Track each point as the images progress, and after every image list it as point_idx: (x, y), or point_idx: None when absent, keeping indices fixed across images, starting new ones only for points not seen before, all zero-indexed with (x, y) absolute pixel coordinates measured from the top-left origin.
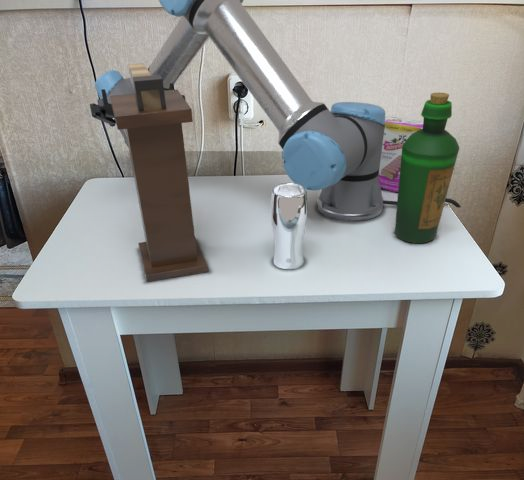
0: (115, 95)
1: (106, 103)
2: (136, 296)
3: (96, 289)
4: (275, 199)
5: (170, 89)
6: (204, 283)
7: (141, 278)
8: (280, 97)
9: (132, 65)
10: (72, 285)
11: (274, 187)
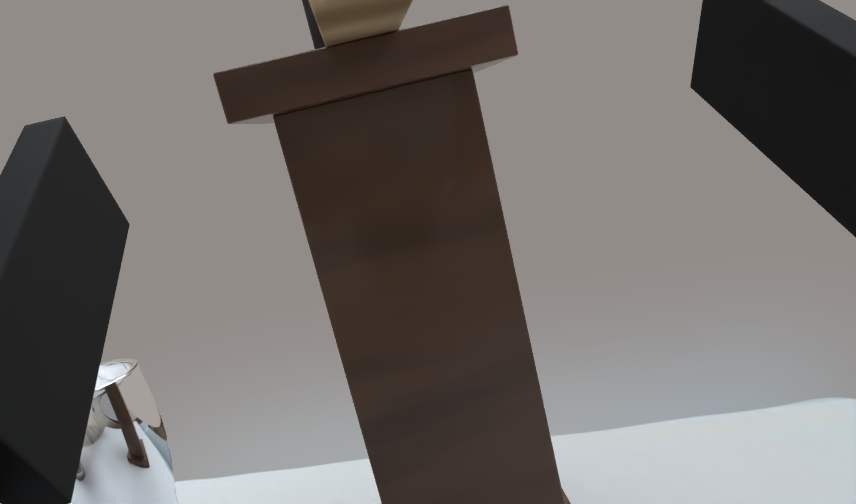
0: (484, 10)
1: (702, 82)
2: (562, 438)
3: (678, 444)
4: (142, 374)
5: (81, 177)
6: None
7: (568, 487)
8: None
9: None
10: (761, 448)
11: (109, 382)
